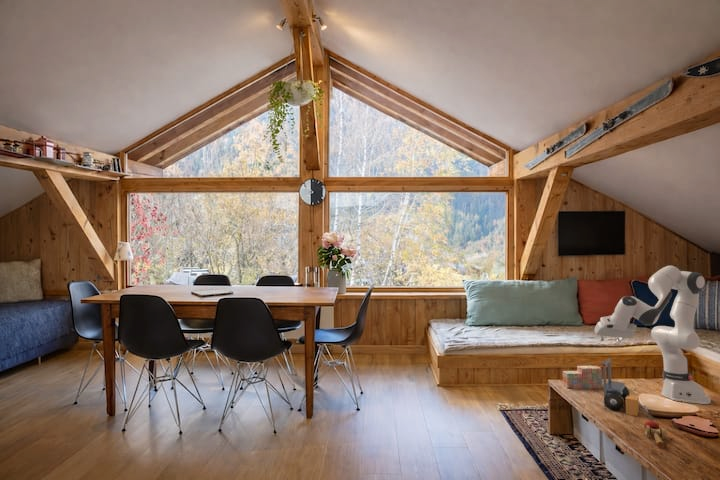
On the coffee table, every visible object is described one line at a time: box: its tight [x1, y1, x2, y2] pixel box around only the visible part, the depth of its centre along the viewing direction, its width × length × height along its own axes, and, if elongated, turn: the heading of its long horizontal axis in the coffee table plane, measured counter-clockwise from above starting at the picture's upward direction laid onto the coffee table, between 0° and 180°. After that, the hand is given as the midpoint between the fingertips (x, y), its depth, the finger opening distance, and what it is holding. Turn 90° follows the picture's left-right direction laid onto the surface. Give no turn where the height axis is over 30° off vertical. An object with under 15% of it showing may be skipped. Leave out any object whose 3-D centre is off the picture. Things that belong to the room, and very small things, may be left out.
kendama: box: [643, 420, 666, 449], centre depth 198 cm, size 8×6×18 cm
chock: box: [625, 395, 640, 417], centre depth 228 cm, size 5×5×8 cm
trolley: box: [602, 357, 631, 412], centre depth 241 cm, size 10×21×23 cm, turn 141°
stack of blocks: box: [562, 365, 603, 390], centre depth 272 cm, size 21×6×12 cm, turn 89°
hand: (609, 340), depth 249 cm, fingers open, 8 cm apart
